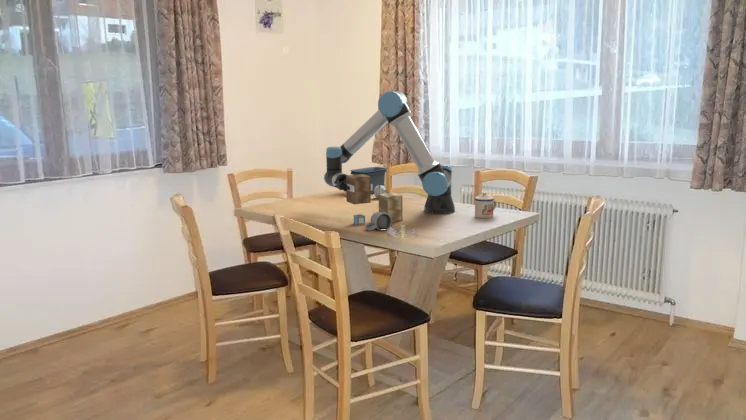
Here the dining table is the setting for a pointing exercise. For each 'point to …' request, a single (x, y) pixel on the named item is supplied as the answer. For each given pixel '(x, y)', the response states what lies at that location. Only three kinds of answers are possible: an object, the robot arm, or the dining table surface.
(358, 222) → the letter cube
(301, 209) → the dining table surface
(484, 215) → the teacup with lid
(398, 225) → the dining table surface
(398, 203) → the oak cover
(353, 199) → the walnut cover
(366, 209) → the dining table surface
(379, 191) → the grey rounded piece
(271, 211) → the dining table surface
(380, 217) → the ceramic mug
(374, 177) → the storage bin
